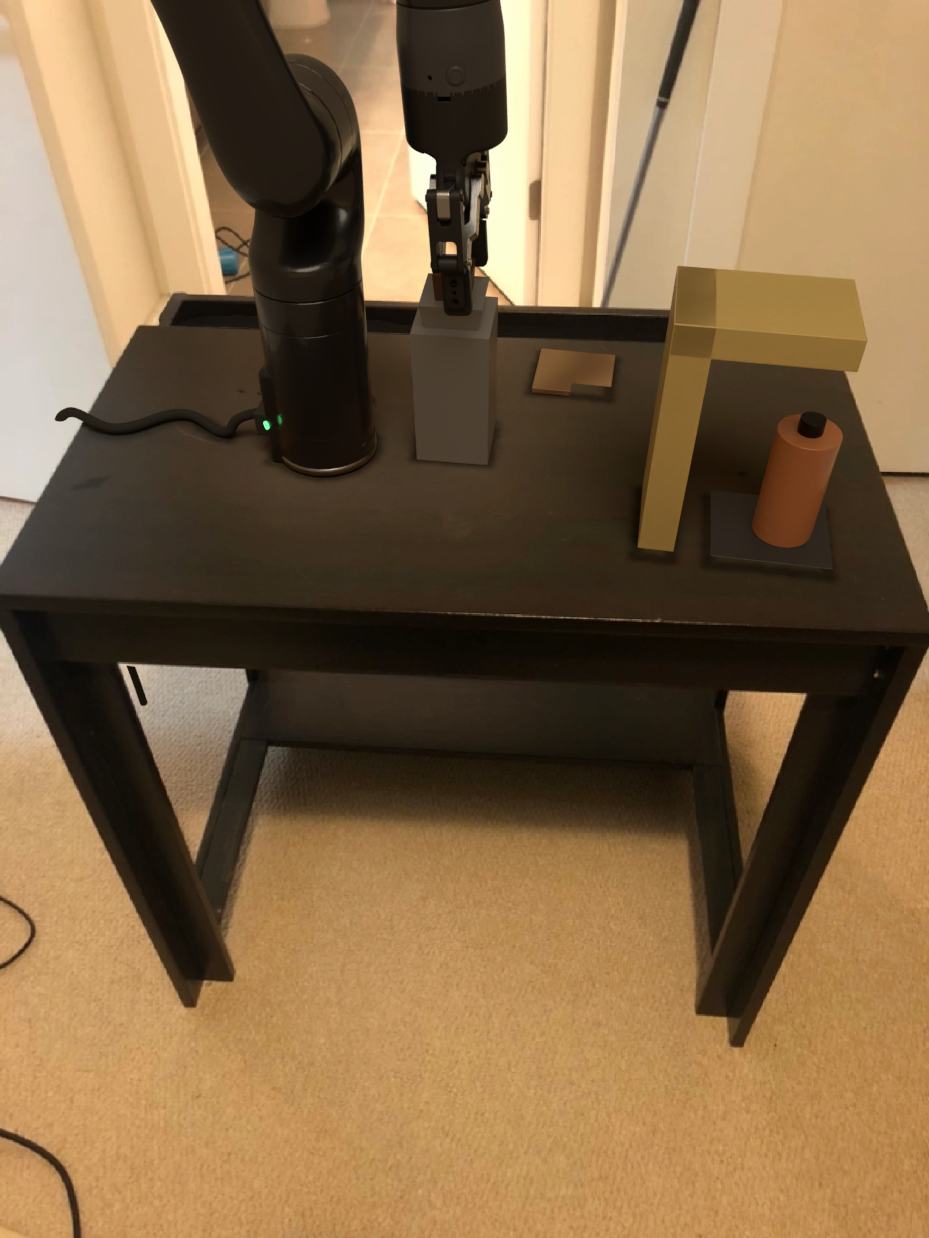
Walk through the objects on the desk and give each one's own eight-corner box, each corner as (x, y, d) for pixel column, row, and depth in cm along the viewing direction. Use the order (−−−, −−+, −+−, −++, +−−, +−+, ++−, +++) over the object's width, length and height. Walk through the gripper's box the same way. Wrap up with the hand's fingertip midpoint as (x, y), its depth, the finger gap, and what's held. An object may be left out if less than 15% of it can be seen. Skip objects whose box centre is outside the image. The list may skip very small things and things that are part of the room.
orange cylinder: (752, 544, 83) (782, 433, 75) (750, 507, 86) (779, 397, 78) (813, 551, 82) (850, 440, 74) (809, 514, 86) (844, 403, 78)
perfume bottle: (495, 421, 97) (499, 249, 83) (487, 465, 92) (489, 290, 79) (428, 416, 98) (420, 244, 84) (416, 459, 93) (407, 285, 80)
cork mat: (531, 392, 101) (531, 387, 101) (541, 353, 107) (541, 348, 106) (609, 400, 100) (610, 395, 100) (615, 359, 106) (615, 354, 105)
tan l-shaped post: (636, 556, 83) (673, 323, 68) (641, 491, 90) (677, 265, 74) (830, 578, 81) (914, 344, 66) (822, 510, 88) (897, 282, 72)
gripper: (419, 42, 75) (437, 250, 86) (378, 105, 65) (404, 331, 76) (517, 40, 73) (523, 251, 85) (491, 103, 63) (501, 333, 75)
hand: (467, 288), depth 80 cm, fingers open, 8 cm apart
